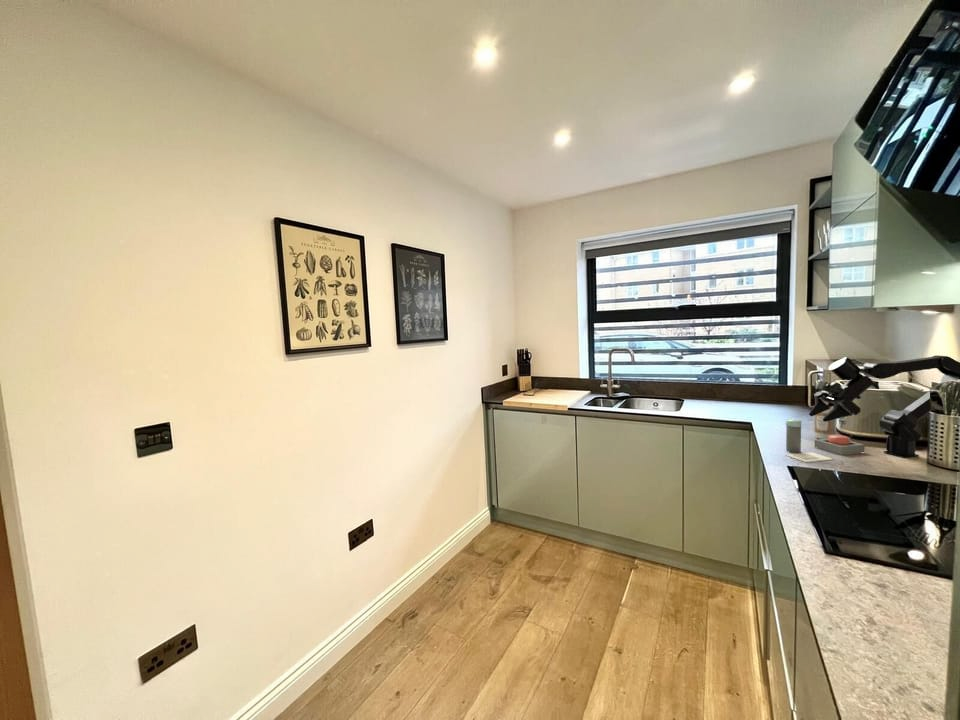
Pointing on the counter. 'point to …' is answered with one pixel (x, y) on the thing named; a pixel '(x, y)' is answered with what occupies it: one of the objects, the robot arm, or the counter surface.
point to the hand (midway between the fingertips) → (816, 418)
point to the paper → (809, 457)
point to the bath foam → (824, 425)
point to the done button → (839, 440)
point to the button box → (839, 447)
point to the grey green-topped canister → (793, 435)
